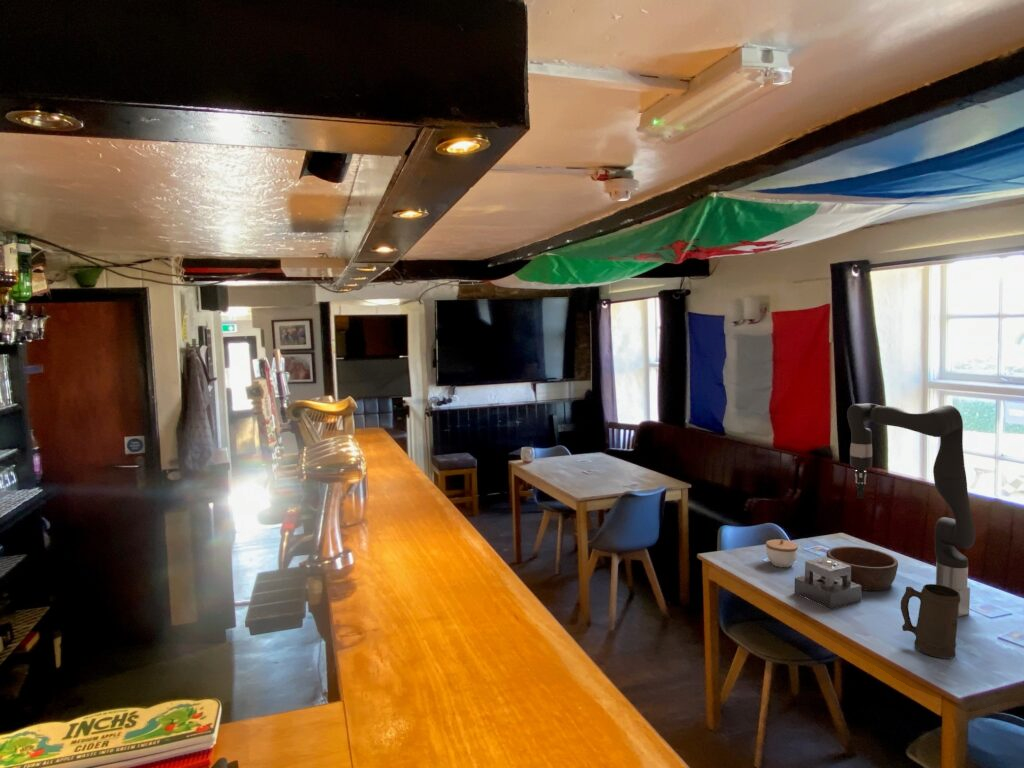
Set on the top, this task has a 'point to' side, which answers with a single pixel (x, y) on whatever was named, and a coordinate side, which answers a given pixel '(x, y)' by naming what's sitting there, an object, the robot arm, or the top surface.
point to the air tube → (829, 564)
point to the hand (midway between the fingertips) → (860, 495)
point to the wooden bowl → (867, 566)
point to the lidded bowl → (781, 552)
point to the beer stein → (933, 619)
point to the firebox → (828, 584)
